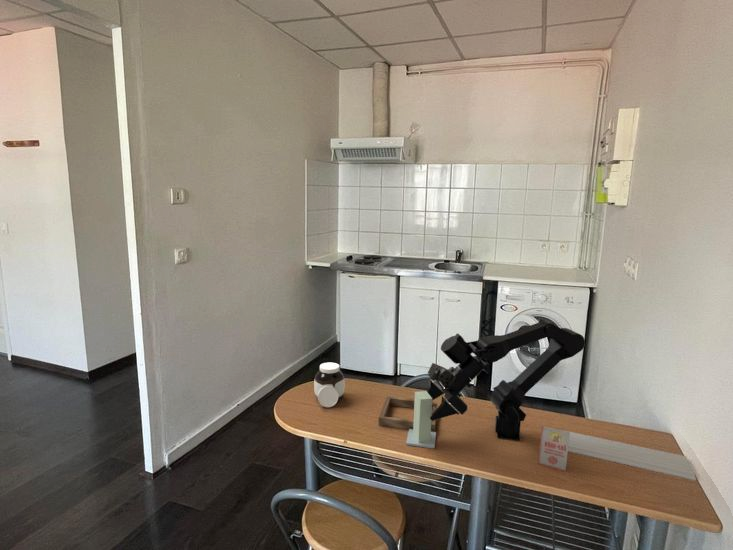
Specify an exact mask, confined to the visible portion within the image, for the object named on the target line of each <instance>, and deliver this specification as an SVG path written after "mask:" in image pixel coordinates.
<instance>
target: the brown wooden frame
mask: <svg viewBox="0 0 733 550" xmlns="http://www.w3.org/2000/svg"><path fill="white" fill-rule="evenodd" d="M414 402H415V398H414V399H412V398H404V397H397V396H396V397H394V396H386V398H385V401H384V404H383V406H382V408H381V411H380V414H379V417H378V426H381V427H389V428H396V429H405V430H409V429H413V424H414V419H408V418H407V419H405V418H401V417H400V418H399V417H390V416H387V415H388V412H389V409H390V407H391V406H392V405H393V407H402V408H411V409H414ZM389 406H390V407H389ZM437 408H438V401H432V414H433V413H434V412H435V410H436V409H437ZM436 422H437V420H434V421H432V420H431V432H436V431H435V430H436Z"/></svg>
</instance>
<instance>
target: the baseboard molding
mask: <svg viewBox="0 0 733 550" xmlns="http://www.w3.org/2000/svg"><path fill="white" fill-rule="evenodd" d="M562 431H566V432H570V435H569V445H568V453H571V452H572V453H573V454H576V453H577V454H576V455H580V454H581V456H585V457H589V458H593V457H594V459H598V460H603V461H607V462H612V463H615V462H616V464H619V465H624V464H625V465H624V466H628V465H629V467H633V468H638V469H642V470H646V471H649V472H650V471H651V472H656V473H660V474H665V475H669V476H673V477H677V478H681V479H686V480H690V481H694V482H697V478H696V473H695V471H694V469H693V468H692V466H691V464H690V461H689V459H688V457H687V456H685V455H682V454H678V453H677V454H675V453H671V452H667V451H663V450H658V449H653V448H648V447H645V446H644V447H642V446H640V445H633V444H629V443H625V442H620V441H616V440H612V439H611V440H610V439H607V438H606V439H605V438H603V437H602V438H601V437H596V436H592V435H588V434H583V433H579V432H578V433H577V432H573V431H569V430H565V429H562Z"/></svg>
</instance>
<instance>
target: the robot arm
mask: <svg viewBox="0 0 733 550" xmlns="http://www.w3.org/2000/svg"><path fill="white" fill-rule="evenodd" d="M549 337H550V340H549V343H548V346H547V349H545V350H544V351H542V352H541V354H540V355H539V356H538V357H537V358H536V359H534V361H532V362H531V363H530V364H529V365H528V366H527V367H526V368H525V369H524V370H523V371H522V372H521V373H520V374H518V376H516V377H515V378H514V379H513V380H512V381H508V382H507V381H505V380H504V379H502V380H501V381H500V382H499V383H498V385H496V386H495V387H493V388H492V389H493V390H492V392H491V393H490V402H491V403H492V404H493V405H494V406H495V409H496V410H498V411H497V415H496V416H495V418H494V419H495V420H494V421H495V422H494V431H495V432H494V433H496V437H497V438H498V439H506V440H514V441H521V435H520V434H521V433H520V432H521V423H522V422H524V421H525V419H526V416H527V414H526V413H525V412H524V411H523V410H522V409H521V408H520V407H521V406H522V405H523V402H524V400H525V397H526V394H527V393H528V392H529V391H531V389H533V387H535V385H536V384H538V383H539V381H541V380H543V378H545V376H547V374H548V373H549V372H551V370H552V369H554V368H555V367H556V366H557V365H558V364H559V363H561V361H563V360H567V359H569V358H572V357H575V356H576V355H577V354H579V353H581V352H582V350H584V349H585V343H586V340H585V338H584V336H583V335H582V334H580V333H578V332H576V331H574V330H572V329H571V328H567V327H558V325H557V326H556V325H555V323H552V322H550V321H549V320H546V319H542V320H540V321H538V322H536V323H534V324H531V325H528V326H525V327H522V328H520V329H516V330H514V331H512V332H508V333H506V334H502V335H494V334H493V335H487V336H482V337H480V338H478V340H473V341H468V342H466V340H465V339H464V338H463V337H462V335H460V334H459V333H456V334H455V335H452V336H450V337H448V338H446V339H445V340H444V341H443V343H442V344H441V345H440V351H441V352H442V353H443V354H445V356H446V357H447V358H448V359H450V361H452V362H453V364H456V365H457V366H456V367H454V366H450V367H449V368H446V367H443V366H441V365H439V364H436V363H434V362H432V363H431V365H430V367H429V370H428V372H427V374H428V378H427V379H428V387H427V390H426V391H427V392H428V394H429V395H430V396H431V397H432V402H434V400H436V399H437V398H439V397H441V402H440V405H438V406H437V409H436V410H435V412H434V413H433V414H432V415H431V417H430V419H431V420H432V421H434V420H436V421H437V420H439V419H442V418H446V417H449V416H450V417H451V416H454V415H462V416H463V415H464V414H465V413H466V412H467V411H468V405H467V403H466V402H465V401H464V400H463V399H462V395H461V392H462V391H464V389H465V388H466V387H467V388H468V389H470V388H471V387H472V384H471V383H472V382H473V381H474V379H475V378H476V377H477V376H478V375H479V374H480V373H481V372H482V371H484V372H485V373H486V374H490V373H491V371H490V366H491V364H490V363H492V364H493V363H496V362H498V361H500V360H502V359H504V358H505V357H507V355H508V354H509V353H510V352H512V351H513V350H515V349H519V348H521V347H524V346H527V345H530V344H532V343H535V342H538V341H540V340H543V339H546V338H549ZM472 354H474V356H473V355H472ZM482 359H483V360H485V361H483V360H482ZM442 395H444V396H442Z"/></svg>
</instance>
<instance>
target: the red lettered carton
mask: <svg viewBox="0 0 733 550" xmlns="http://www.w3.org/2000/svg"><path fill="white" fill-rule="evenodd" d="M566 431H567V430H564V431H563V429H562V430H561V429H558V428H557V429H556V428H552V427H548V426H546V425H541V430H540V436H539V437H540V439H539V447H538V457H537V465H541V466H544V467H548V468H552V469H555V470H559V471H562V472H567V471H566V470H567V462H568V453H569V452H568V445H569V435H570V432H571V431H569V432H566Z"/></svg>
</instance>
